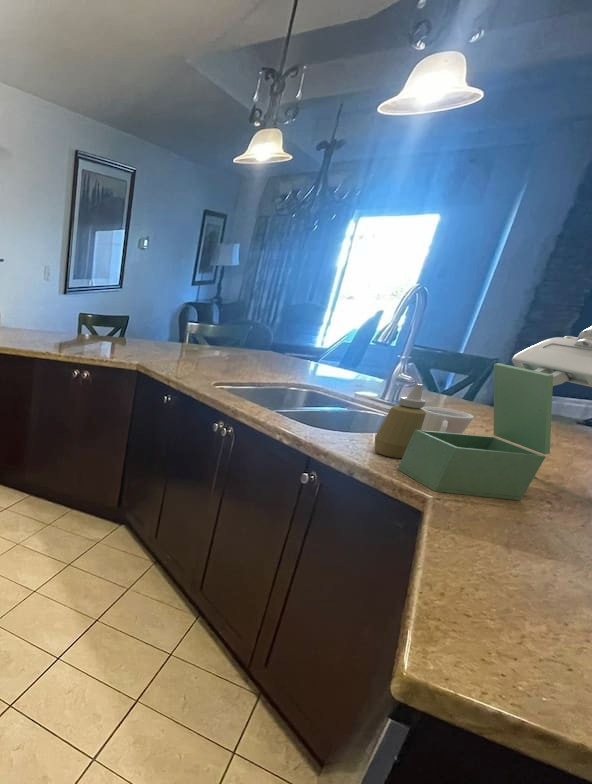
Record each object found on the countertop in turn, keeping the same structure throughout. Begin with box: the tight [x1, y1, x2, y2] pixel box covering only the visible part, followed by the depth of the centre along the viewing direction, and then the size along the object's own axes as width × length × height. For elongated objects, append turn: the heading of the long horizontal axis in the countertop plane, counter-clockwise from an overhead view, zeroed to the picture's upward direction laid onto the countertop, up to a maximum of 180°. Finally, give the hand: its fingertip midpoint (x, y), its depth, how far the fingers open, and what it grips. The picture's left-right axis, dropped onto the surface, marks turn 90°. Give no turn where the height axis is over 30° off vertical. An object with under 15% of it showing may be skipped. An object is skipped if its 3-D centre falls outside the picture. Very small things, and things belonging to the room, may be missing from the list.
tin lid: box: [493, 362, 554, 455], centre depth 99 cm, size 16×13×1 cm
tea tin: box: [396, 430, 547, 501], centre depth 105 cm, size 16×13×10 cm
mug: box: [421, 406, 475, 434], centre depth 127 cm, size 10×15×10 cm
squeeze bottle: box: [374, 383, 427, 459], centre depth 120 cm, size 8×8×18 cm
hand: (525, 388), depth 98 cm, fingers closed, pressing on tin lid
